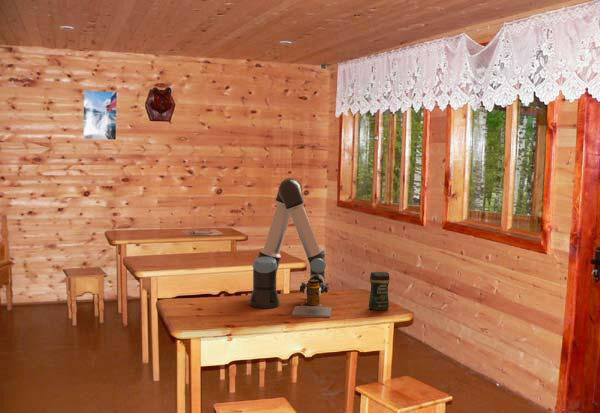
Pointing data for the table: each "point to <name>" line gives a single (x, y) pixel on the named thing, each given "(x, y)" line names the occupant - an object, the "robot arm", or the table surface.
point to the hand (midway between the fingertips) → (312, 293)
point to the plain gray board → (312, 311)
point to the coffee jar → (379, 291)
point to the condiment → (312, 294)
